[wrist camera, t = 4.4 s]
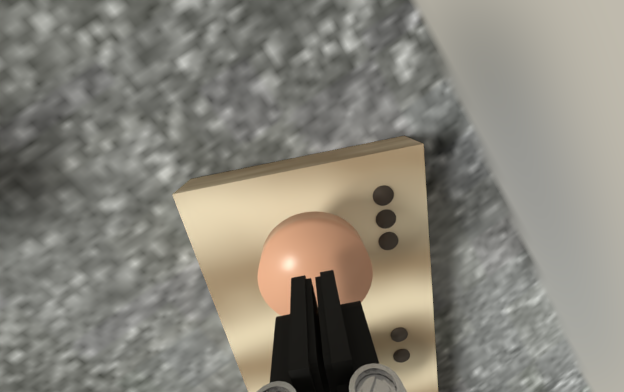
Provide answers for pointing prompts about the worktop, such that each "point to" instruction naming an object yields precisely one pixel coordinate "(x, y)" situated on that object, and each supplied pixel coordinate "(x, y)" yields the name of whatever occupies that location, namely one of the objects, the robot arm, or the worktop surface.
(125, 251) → the worktop surface
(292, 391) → the robot arm
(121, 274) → the worktop surface
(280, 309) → the terracotta key
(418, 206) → the wooden button board
